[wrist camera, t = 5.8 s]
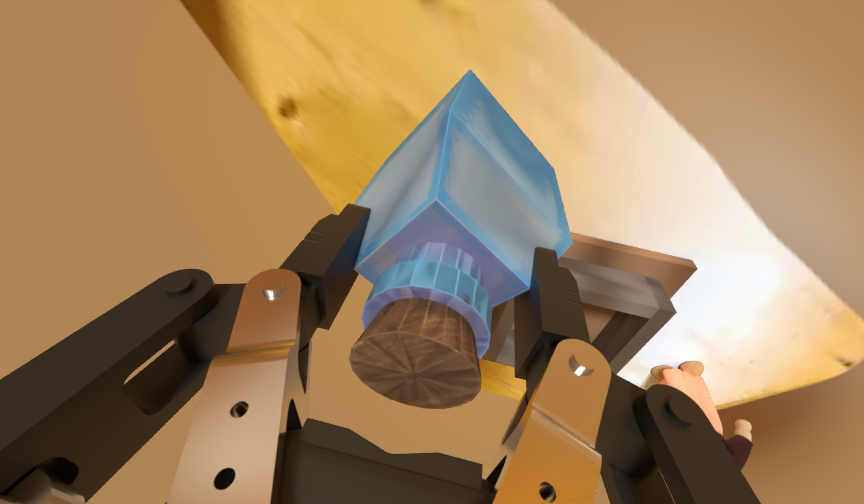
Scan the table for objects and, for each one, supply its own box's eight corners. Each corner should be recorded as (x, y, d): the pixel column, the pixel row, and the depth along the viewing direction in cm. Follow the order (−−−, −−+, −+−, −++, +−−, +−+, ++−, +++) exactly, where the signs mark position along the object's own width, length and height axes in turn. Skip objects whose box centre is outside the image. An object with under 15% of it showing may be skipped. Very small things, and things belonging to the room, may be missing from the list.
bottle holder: (466, 328, 36) (460, 364, 32) (504, 217, 26) (502, 250, 23) (601, 363, 35) (611, 403, 31) (692, 260, 25) (720, 301, 22)
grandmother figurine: (706, 350, 31) (797, 515, 21) (722, 371, 32) (814, 536, 22) (624, 371, 35) (666, 516, 25) (640, 389, 36) (687, 533, 26)
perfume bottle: (463, 233, 19) (422, 448, 10) (385, 160, 17) (247, 348, 8) (554, 169, 16) (613, 407, 7) (470, 69, 14) (395, 217, 5)
